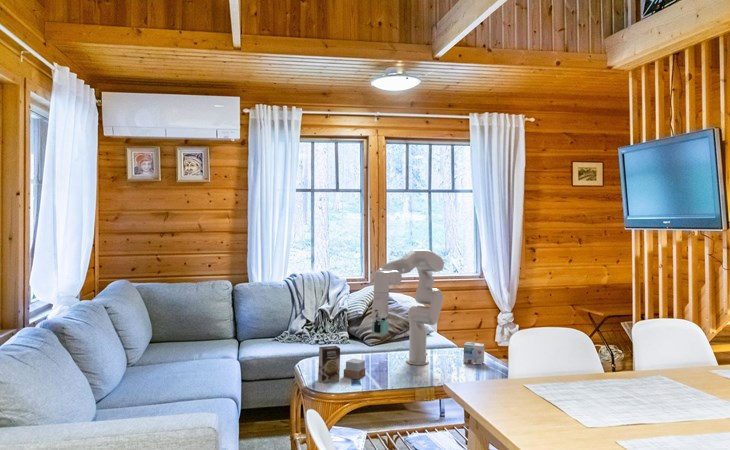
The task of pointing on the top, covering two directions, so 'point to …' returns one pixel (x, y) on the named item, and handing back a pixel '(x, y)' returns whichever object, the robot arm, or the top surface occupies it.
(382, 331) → the teal cube
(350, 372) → the walnut base block
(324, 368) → the coffee box
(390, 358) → the top surface
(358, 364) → the slate grey top block
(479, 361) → the light bulb box
